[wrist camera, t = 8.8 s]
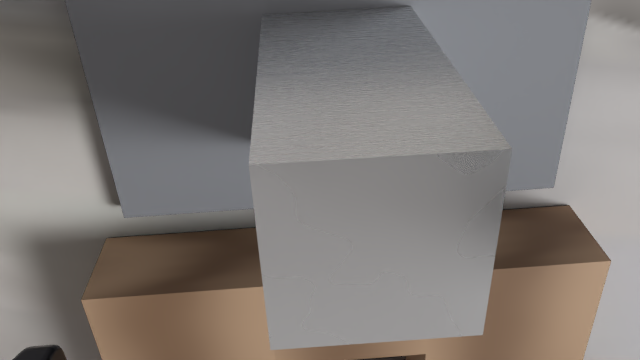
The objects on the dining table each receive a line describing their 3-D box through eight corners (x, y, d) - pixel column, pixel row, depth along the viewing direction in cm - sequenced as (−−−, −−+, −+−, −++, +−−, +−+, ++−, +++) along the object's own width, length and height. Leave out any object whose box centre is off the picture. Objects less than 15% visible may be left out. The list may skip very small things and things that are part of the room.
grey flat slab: (600, -105, 15) (612, -103, 14) (546, 177, 20) (553, 187, 19) (53, -74, 15) (45, -70, 14) (128, 207, 19) (124, 217, 19)
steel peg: (411, 5, 16) (512, 149, 9) (404, 137, 18) (482, 334, 11) (262, 13, 15) (248, 165, 9) (273, 145, 18) (270, 350, 11)
